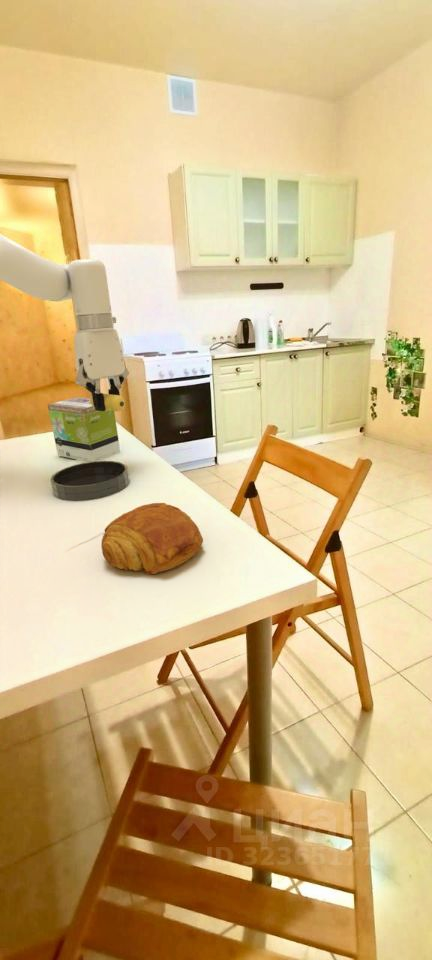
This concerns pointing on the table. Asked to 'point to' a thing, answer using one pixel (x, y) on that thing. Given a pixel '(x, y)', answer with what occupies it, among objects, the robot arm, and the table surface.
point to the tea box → (83, 430)
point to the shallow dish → (90, 480)
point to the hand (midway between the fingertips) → (108, 407)
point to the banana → (112, 402)
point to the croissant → (151, 539)
